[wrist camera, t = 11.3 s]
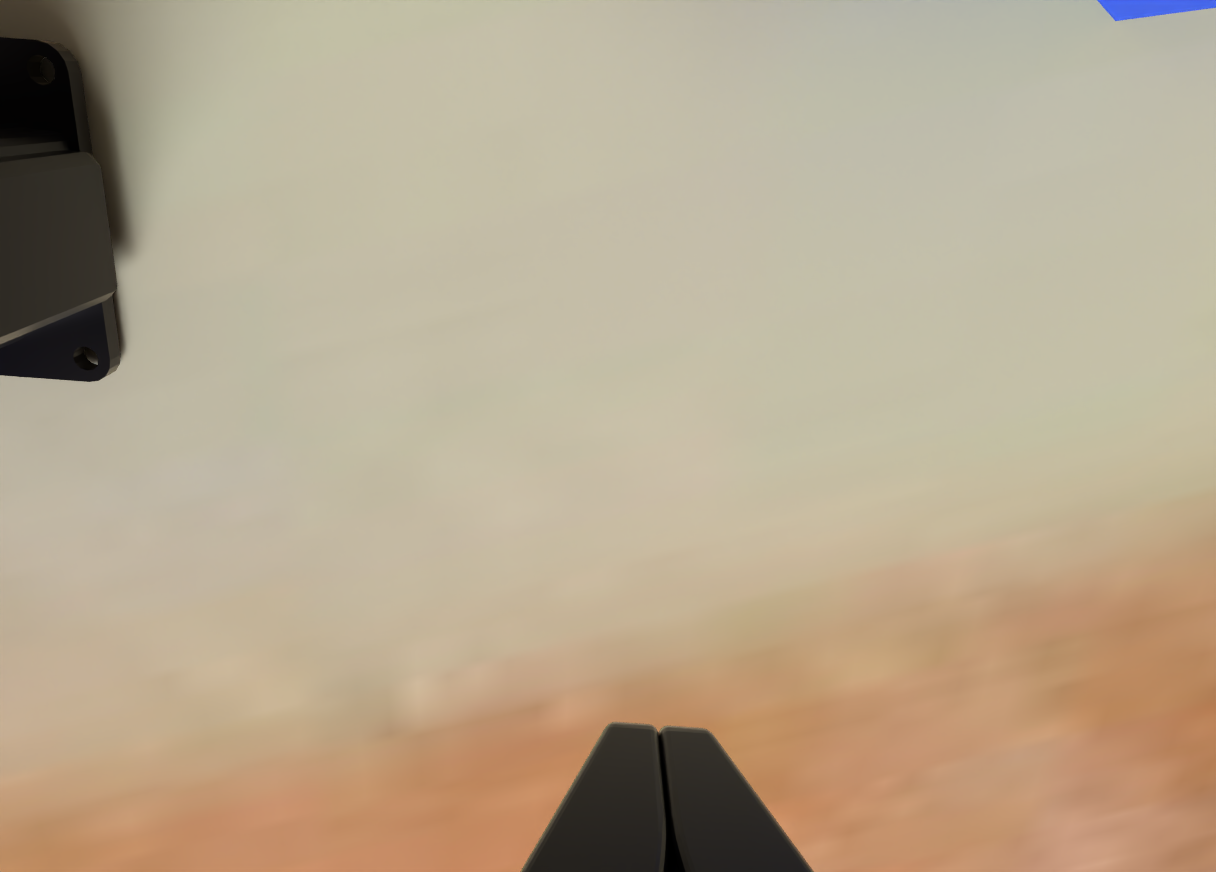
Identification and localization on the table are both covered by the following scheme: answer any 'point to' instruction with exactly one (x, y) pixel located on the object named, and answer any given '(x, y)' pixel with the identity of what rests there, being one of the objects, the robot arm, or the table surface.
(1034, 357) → the table surface
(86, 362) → the robot arm
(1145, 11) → the bracket
